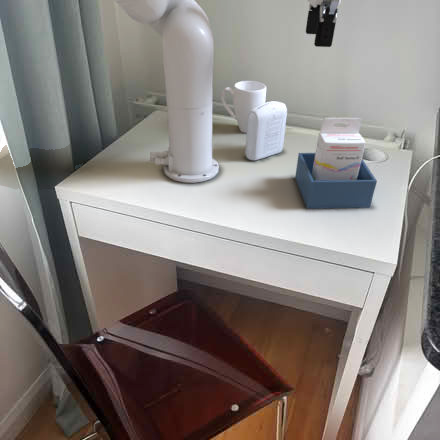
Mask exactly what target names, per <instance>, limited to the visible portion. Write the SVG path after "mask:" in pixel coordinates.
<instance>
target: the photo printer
mask: <svg viewBox="0 0 440 440" xmlns="http://www.w3.org/2000/svg"><path fill="white" fill-rule="evenodd" d="M287 115H288V109H287V106H286V104H285V103H284V102H281V101H277V100H276V101H275V100H274V101H267V102H266V101H265V103H263V104H260V105H258V106H257V107H255V108H253V109H252V110H251V111H250V112H249V114H248V121H247V133H246V135H245V136H246V137H245V140H246V141H245V153H244V154H245V156H246V159H248V160H250V161H257V160H261V159H264V158H268V157H270V156H273V155H276V154H279V153H282V151H283V150H284V143H285V142H284V141H285V132H286V125H287Z"/></svg>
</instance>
